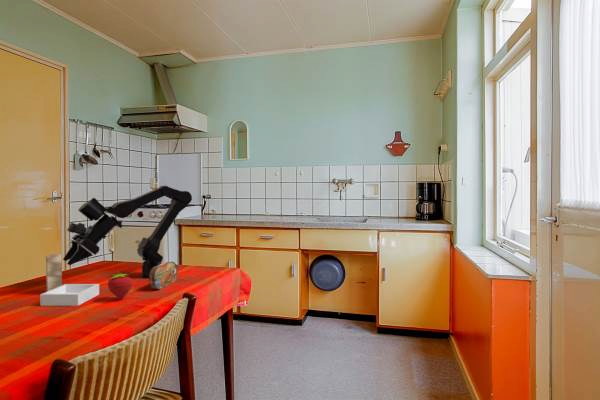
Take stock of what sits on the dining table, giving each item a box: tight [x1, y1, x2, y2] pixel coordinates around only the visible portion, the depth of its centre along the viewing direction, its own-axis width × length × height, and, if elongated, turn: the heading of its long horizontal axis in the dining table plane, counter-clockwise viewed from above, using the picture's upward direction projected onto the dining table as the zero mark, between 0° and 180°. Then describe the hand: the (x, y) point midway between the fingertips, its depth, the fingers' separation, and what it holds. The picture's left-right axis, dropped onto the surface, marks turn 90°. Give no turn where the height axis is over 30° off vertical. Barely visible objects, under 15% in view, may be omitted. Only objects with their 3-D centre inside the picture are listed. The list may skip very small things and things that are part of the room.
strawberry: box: [107, 271, 134, 301], centre depth 115 cm, size 6×8×10 cm
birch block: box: [45, 253, 63, 292], centre depth 122 cm, size 4×4×13 cm
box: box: [39, 283, 100, 307], centre depth 115 cm, size 12×12×4 cm
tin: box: [148, 261, 179, 290], centre depth 131 cm, size 15×3×8 cm, turn 168°
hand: (66, 262), depth 125 cm, fingers open, 9 cm apart
